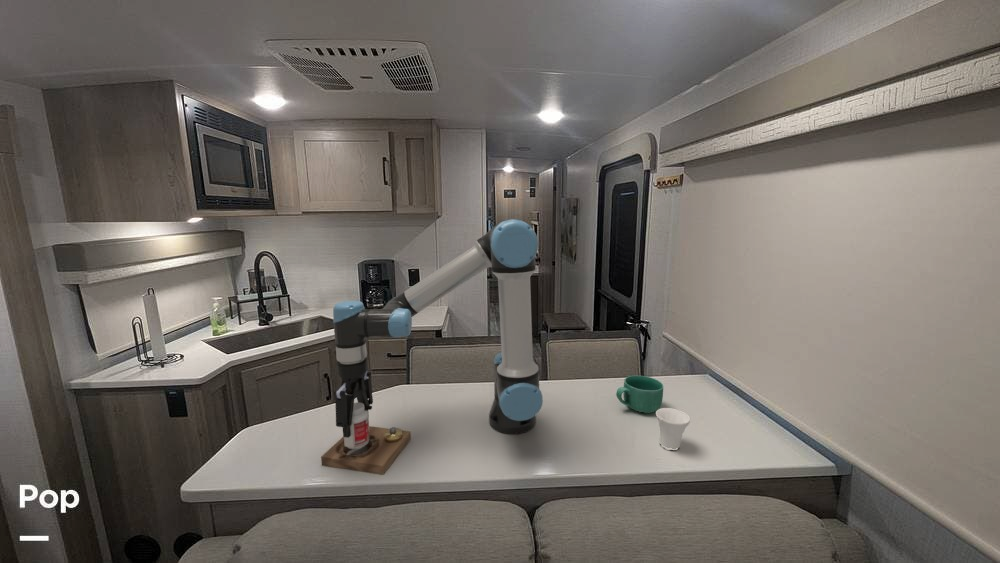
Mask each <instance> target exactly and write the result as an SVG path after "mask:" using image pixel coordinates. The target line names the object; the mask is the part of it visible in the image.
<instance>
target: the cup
mask: <svg viewBox="0 0 1000 563" xmlns="http://www.w3.org/2000/svg"><path fill="white" fill-rule="evenodd" d="M655 415H656V417H657V418H656V419H657V420H658V426H659V441H658V443H659V442H660V444H661V445H663V446H665V447H667V448H672V449H676V448H679V447H680V448H681V441H682V438H683V434H684V433H685V430H686V428H687V427H688V425H689V424H690V423H691V418H690V416H689V414H688V413H686V412H684V411H682V410H680V409H677V408H671V407H660V408H659V409H658V410H657V411H655ZM660 444H659V445H660Z"/></svg>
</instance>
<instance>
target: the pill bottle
mask: <svg viewBox="0 0 1000 563" xmlns="http://www.w3.org/2000/svg"><path fill="white" fill-rule="evenodd" d="M364 409H365V408H364V404H363V403H360V402H358V401H357V402H354V406H353V415H352V423H354V434H355V447H354V448H353V447H347V448H349V449H352V450H358V449H362V448H363V447H364V446H366V445H367V444H368V442H369V426H370V425H369V426H368V414H367V412H366V411H364Z"/></svg>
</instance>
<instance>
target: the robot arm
mask: <svg viewBox="0 0 1000 563" xmlns="http://www.w3.org/2000/svg"><path fill="white" fill-rule="evenodd" d="M538 248H539V240H538V236H537V233H536V232H535V230H534V229H533V227H532V226H531V225H530V224H528V223H527V222H525V221H523V220H520V219H513V218H511V219H506V220H502V221H499V222H498V223H496V224H494V226H493V227H492V228H491V229H490V230H488V231H487V232H486V233H485V234H484V235H482V236H481V237H480V238H478V239H477V240H475V243H474V245H473V246H472V247H471V248H469V249H468V250H466V251H464V252H463V253H461V254H459V255H458V256H456V257H455V258H454V259H452V260H451V261H449V262H448V263H446V264H444V265H443V266H441V267H440V268H437V270H435V271H434V272H432V273H431V274H430V275H429V274H428V275H427V276H426V277H425V278H423V279H422V280H420V281H419V282H417V283H416V284H414V285H413V286H411V287H410V288H408V289H406V290H405V291H404V292H403V293H400V294H399V295H398V296H397V295H396V296H394V297H392V298H391V299H389V300H388V301H387V303H386V304H385V306H383V308H379V309H378V308H375V309H369V308H368V309H366V308H365V306H364V303H363V302H362V301H360V300H359V301H358V300H346V301H340V302H337V303H336V304H335V305H334V306H333V312H332V313H333V314H332V315H333V320H332V323H333V330H334V341H335V343H334V344H335V345H334V346H335V354H336V361H337V362H336V370H337V376H338V377H339V378H340V379H341V383H340V388H339V389H335V390H334V391H333V396H334V400H335V401H334V402H335V426H336V427H338V428H342V437H343V436H344V444H345V446H346V447H353V448H354V447H355V434H354V423H352V415H353V406H354V403H355V400H357V402H360V403H363V404H364V408H365V409H364V411H366V412H367V414H368V426H370V422H369V420H370V418H369V417H370V416H369V411H371V410H372V409H373V406H372V405H373V403H374V399H373V389H372V382H371V381H372V380H371V378H372V372H371V371H368V368H369V367H368V359H367V355H368V351H367V341H366V339H372V338H374V339H375V338H377V339H378V338H379V339H381V338H383V339H384V338H394V339H397V338H402V337H408V336H410V334H411V332H412V326H413V323H412V322H413V320H412V318H413V317H414V316H416V315H417V314H418V313H420V312H422V311H423V310H425V309H426V308H428V307H429V306H431V305H432V304H434V303H435V302H437V301H439V300H440V299H441V298H443V297H445V296H446V295H448V294H449V293H451V292H452V291H454V290H456V289H457V288H458V287H460V286H462V285H463V284H465V283H466V282H468V281H469V280H471V279H472V278H474V277H475V276H477V275H478V274H480V273H481V272H483V271H485V270H486V269H488V268H491V273H492V274H493V275H494V276H495V277H496V278H497V286H498V288H497V289H498V305H499V306H498V307H499V325H500V327H499V328H500V345H501V348H500V349H501V352H498V353H497V354H496V355H495V356H494V362H493V366H494V367H493V368H494V370H493V371H494V373H493V374H494V376H493V378H494V379H493V380H494V384H493V385H494V386H493V387H494V392H493V393H494V395H493V396H494V398H493V401H492V405H491V408H490V411H489V414H488V421H489V422H488V423H489V425H490V427H491V428H493V430H495V431H497V432H500V433H503V434H507V435H518V434H523V433H527V432H529V431H531V430H532V429H533V428H534V427H535V426H536V423H537V421H536V419H537V418H536V415H537V414H538V413H539V412H540V411H541V409H542V406H543V402H544V401H543V398H544V397H543V394H542V393H543V392H542V391H541V388H540V379H539V378H540V374H539V371H540V370H539V369H540V368H539V365H538V364H536V362H534V360H533V359H534V355H533V354H534V352H533V334H532V333H533V328H532V327H533V325H532V324H533V323H532V300H531V299H532V296H531V291H532V290H531V276H532V275H533V274H534V273H535V272H536V255H537V254H538Z"/></svg>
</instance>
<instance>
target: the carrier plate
mask: <svg viewBox="0 0 1000 563" xmlns="http://www.w3.org/2000/svg"><path fill="white" fill-rule="evenodd" d="M388 429H389V428H386V427H379V426H371V425H369V442H368V444H367V445H366V446H364V447H366V448H369V449H368V450H366V451H364V452H362V453H359V454H354V455H352V454H347V453H348V452H349V451H352V450H351V449H349V448H347V447H346V446H345V444H344V436H343V435H342V437H341V438H340V439H339V440H337V441H336V442H335V443H334V444H333V445H332V446H331V447H329V449H328V450H326V452H324V453H323V454H322V455H321V457H320V458H321V466H325V467H330V468H331V467H332V468H337V469H344V470H351V471H356V472H364V473H370V474H375V475H385V473H386V472H387V471H388V470H389V468H390V466H392V464H393V463H394V462H395V461H396V459H397V458H398V456H399V455H400V454H401V452H402V451H403V450H404V448H406V446H407V445H408V443H409V442H410V441H411V440H412V436H411V434H412V433H411V432H412V431H410V430H402V429H401V430H402V438H401V439H400V440H399V441H397V442H393V443H388V442H386V441H385V440H384V432H385V431H387V430H388Z"/></svg>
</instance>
